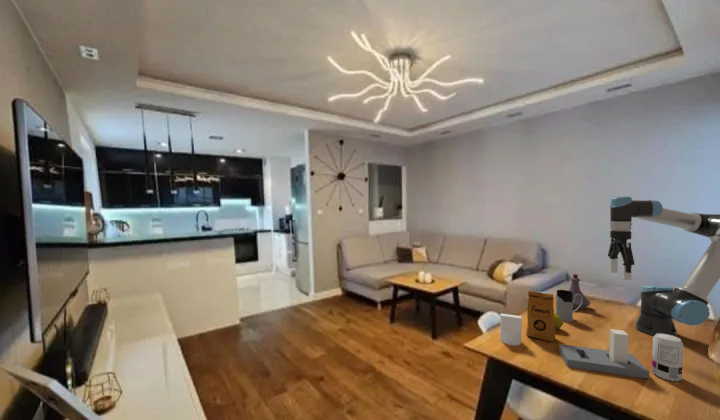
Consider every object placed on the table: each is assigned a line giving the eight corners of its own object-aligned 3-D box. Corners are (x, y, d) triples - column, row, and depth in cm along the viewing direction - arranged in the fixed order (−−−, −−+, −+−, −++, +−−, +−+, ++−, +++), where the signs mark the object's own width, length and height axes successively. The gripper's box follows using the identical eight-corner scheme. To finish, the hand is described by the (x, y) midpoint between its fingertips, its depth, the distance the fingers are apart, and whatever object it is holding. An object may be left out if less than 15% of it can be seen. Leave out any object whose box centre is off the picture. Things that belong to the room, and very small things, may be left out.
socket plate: (631, 360, 131) (631, 353, 131) (648, 379, 118) (649, 371, 117) (558, 350, 140) (558, 343, 140) (567, 366, 127) (567, 359, 127)
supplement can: (645, 370, 123) (647, 333, 123) (665, 369, 124) (666, 332, 123) (667, 383, 115) (669, 342, 115) (688, 381, 116) (690, 341, 115)
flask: (566, 311, 187) (567, 277, 186) (554, 301, 203) (554, 271, 202) (597, 312, 184) (598, 278, 184) (582, 303, 201) (583, 272, 200)
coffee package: (553, 345, 145) (554, 297, 144) (524, 337, 153) (524, 292, 152) (557, 337, 153) (558, 292, 152) (529, 330, 161) (529, 287, 160)
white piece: (520, 338, 151) (521, 314, 151) (521, 347, 143) (522, 320, 143) (500, 335, 155) (500, 311, 155) (499, 343, 147) (500, 317, 146)
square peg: (608, 362, 129) (609, 329, 129) (622, 364, 128) (623, 330, 127) (613, 368, 125) (614, 333, 125) (627, 370, 124) (628, 335, 123)
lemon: (566, 329, 161) (566, 314, 161) (559, 333, 157) (560, 317, 156) (543, 322, 170) (543, 308, 170) (536, 326, 165) (536, 311, 165)
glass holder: (551, 315, 181) (552, 289, 180) (577, 315, 180) (577, 289, 179) (560, 321, 172) (561, 294, 171) (587, 321, 171) (588, 294, 171)
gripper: (645, 233, 133) (644, 283, 134) (618, 227, 156) (617, 270, 157) (623, 233, 135) (622, 282, 136) (600, 227, 159) (599, 269, 160)
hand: (620, 276), depth 147 cm, fingers open, 13 cm apart
